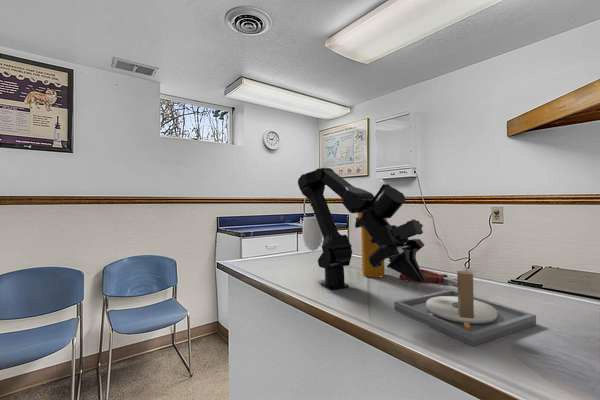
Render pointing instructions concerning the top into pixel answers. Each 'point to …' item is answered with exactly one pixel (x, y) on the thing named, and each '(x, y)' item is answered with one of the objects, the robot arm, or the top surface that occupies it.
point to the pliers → (433, 278)
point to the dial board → (466, 332)
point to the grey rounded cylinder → (311, 233)
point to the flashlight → (366, 252)
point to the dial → (462, 304)
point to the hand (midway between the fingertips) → (421, 281)
